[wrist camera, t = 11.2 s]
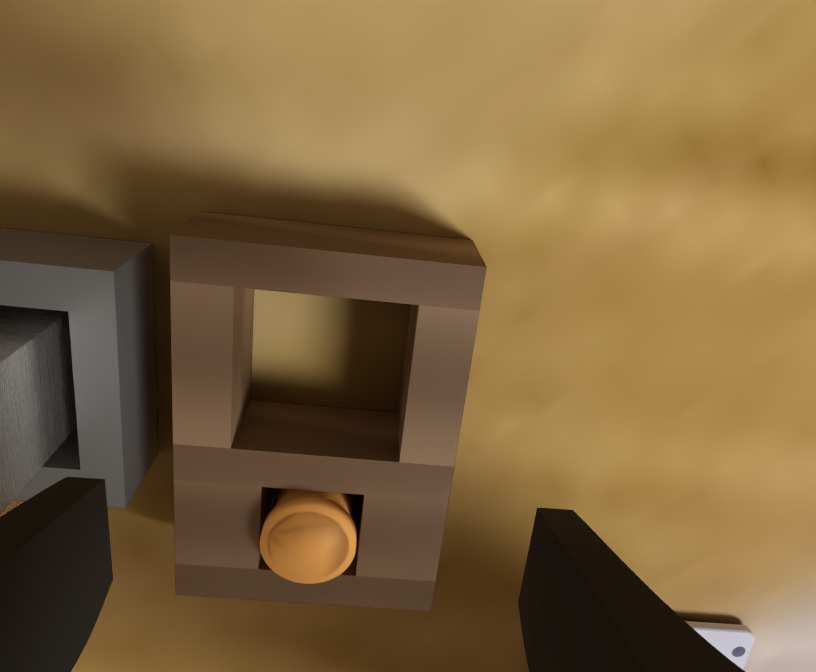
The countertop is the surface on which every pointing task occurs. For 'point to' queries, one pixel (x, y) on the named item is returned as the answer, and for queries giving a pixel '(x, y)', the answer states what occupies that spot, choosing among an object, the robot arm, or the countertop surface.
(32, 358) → the steel peg
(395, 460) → the socket block
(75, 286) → the grey square frame
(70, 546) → the robot arm
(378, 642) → the countertop surface
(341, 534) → the pin
